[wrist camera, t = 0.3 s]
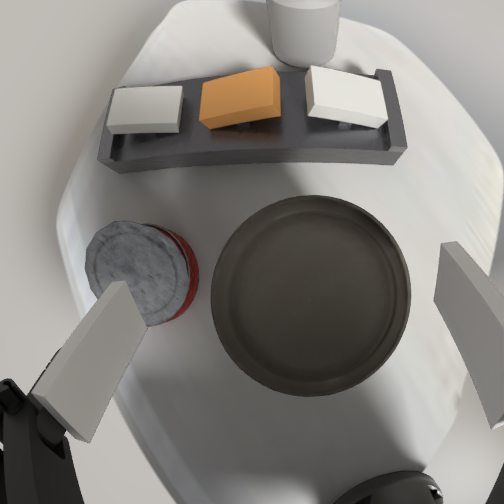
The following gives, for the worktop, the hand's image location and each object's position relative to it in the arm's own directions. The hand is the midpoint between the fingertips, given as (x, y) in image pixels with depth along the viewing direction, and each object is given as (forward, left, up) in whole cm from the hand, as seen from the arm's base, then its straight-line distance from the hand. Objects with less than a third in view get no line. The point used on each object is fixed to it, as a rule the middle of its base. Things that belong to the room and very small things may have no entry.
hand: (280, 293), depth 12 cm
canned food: (+1, +13, -18) cm, 22 cm away
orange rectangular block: (+17, +4, -12) cm, 21 cm away
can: (+28, -3, -17) cm, 33 cm away
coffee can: (0, -2, -17) cm, 17 cm away
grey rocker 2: (+17, +13, -12) cm, 24 cm away
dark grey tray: (+17, +4, -17) cm, 24 cm away
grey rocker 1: (+17, -6, -12) cm, 21 cm away
